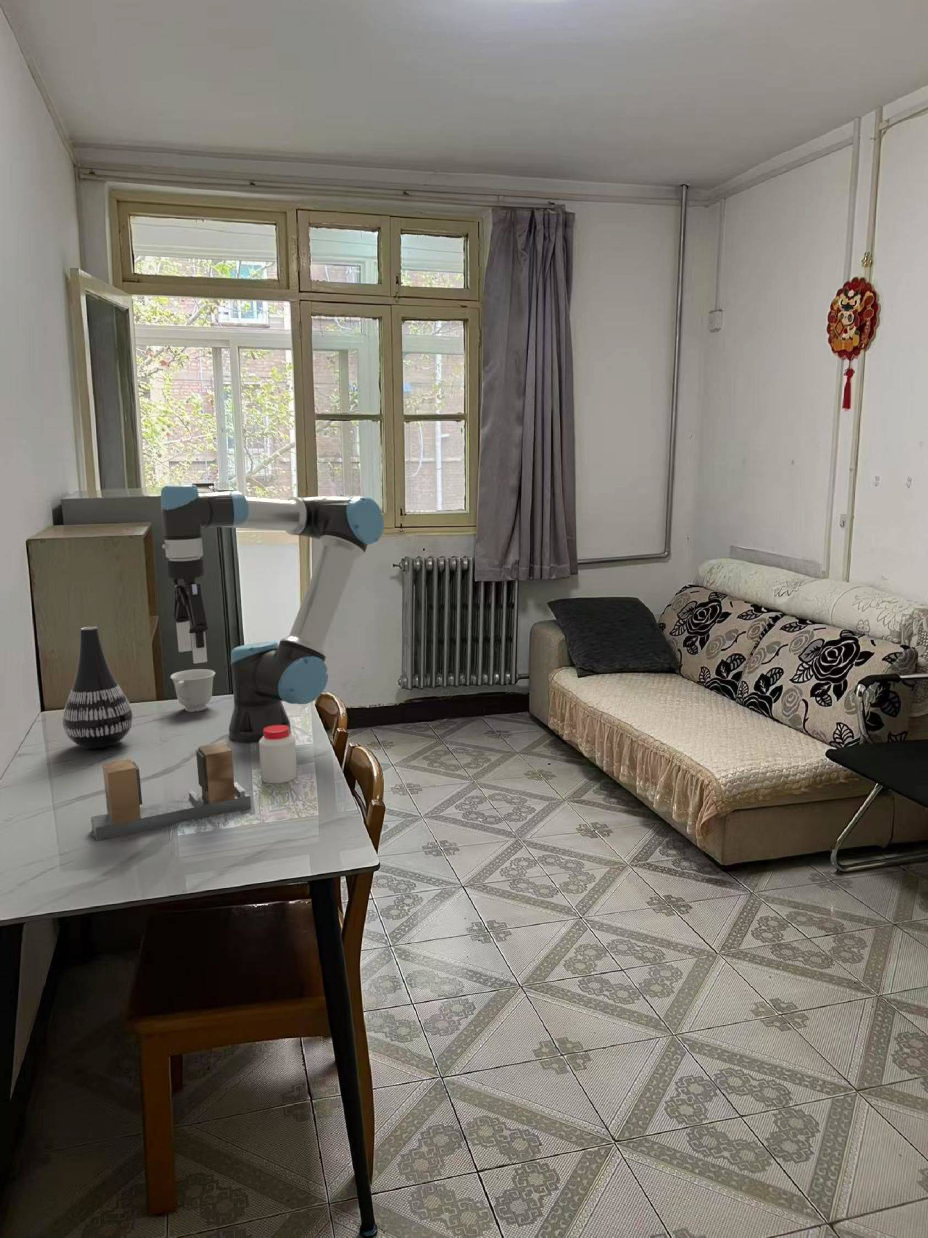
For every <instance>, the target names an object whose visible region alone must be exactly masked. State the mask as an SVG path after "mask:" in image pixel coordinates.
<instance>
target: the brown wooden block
mask: <svg viewBox="0 0 928 1238" xmlns="http://www.w3.org/2000/svg"><path fill="white" fill-rule="evenodd" d="M197 748H198V749H197V750H195V754H196V756H195V757H196V765H197V767H196V768H197V780H198V785H199V787H201V795H203V796H204V797H205V799H206V800H207V801H208V802H209V804H213V803H218V802H222V801H227V800H232V799H235V789H234V782H235V778H234V765H233V764H234V763H233V751H232V750H233V749H231V748H230V747H229V746H228V745H227V744H226V743H225V742H218V743H213V744H212V743H211V744H206V745H202V746H198V747H197Z"/></svg>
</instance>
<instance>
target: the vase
mask: <svg viewBox="0 0 928 1238" xmlns="http://www.w3.org/2000/svg"><path fill="white" fill-rule="evenodd" d="M79 636H80V637H79V652H78V653H79V654H78V663H77V668H76V672H75V677H74V680H73V684H72V686H71V690H70V692H69V695H68V698H67V701H66V703H65V706H64V708H63V714H62V728H63V730H64V733H65V734H66V735H67V737H68V739H70V741H72V743H74V744H76V745H77V746H80V747H81V748H82V747H83V748H86V749H87V750H89V751H101V750H107V749H110V748H113V747H114V746H115V745H116V744H117V743H119V742H120V741H122V740H123V739H124V738H125V737H126V736H127V735H128V734H129V732H130V730H131V727H132V725H133V721H134V719H133V718H134V715H133V710H132V705H131V704H130V702H129V700H128V698H127V696H126V694H125V693H124V692H123V690H122V688H121V687H120V685H119V683H118V682H117V681H116V680H117V679H116V678H115V676H114V675H113V673H112V670H111V669H110V667H109V664H108V661H107V658H106V656H105V652H104V649H103V645H102V642H101V637H100V634H99V628H98V626H85V627H81V628H80V629H79Z"/></svg>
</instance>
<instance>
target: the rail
mask: <svg viewBox="0 0 928 1238" xmlns="http://www.w3.org/2000/svg"><path fill="white" fill-rule="evenodd" d="M102 772H103V773H102V774H103V781H104V782H103V783H104V794H105V801H106V811H107V812H106V813H105V814H100V815H95V816H90V820H91V821H90V822H91V830H92V832H93V835H94V837H95V839H96V841H97V842H98V841H103V840H107V839H112V838H116V837H121V836H124V835H131V834H136V833H140V832H144V831H149V830H154V829H157V828H162V827H168V826H173V825H176V824H181V823H185V822H186V823H187V822H190V821H195V820H201V819H203V818H204V819H206V818H209V817H214V816H218V815H223V814H228V813H232V812H237V811H242V810H246V809H247V810H248V809H251V808H252V800H251V795H250V793H248V792H247V790H246V789H245V788H244V787H242V786H241V785H240V784H239V783H238V782H237V781H236V782H235V781H234V789H235V799H232V800H227V801H222V802H218V803H213V804H209V802H208V801H207V800H206V799H205V797H204V796H203V795H202V794H197V793H196V791H195V790H189V791H188V797H184V798H183V797H182V798H179V799H174V800H169V801H164V802H159V803H154V804H148V805H144V806H142V805H143V798H142V797H143V796H142V786H141V785H142V784H141V775H140V768H139V767H138V765H137V764H136V762H135V761H133V760H132V759H131V758H128V759H122V760H116V761H110V762H106V763H102Z"/></svg>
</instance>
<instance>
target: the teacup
mask: <svg viewBox="0 0 928 1238" xmlns="http://www.w3.org/2000/svg"><path fill="white" fill-rule="evenodd" d="M215 674H216V672H215V670H212V669H207V668H206V669H205V668H196V669H195V668H194V669H186V670H182V671H181V670H180V671H177V672H174V673H172V674H171V675H170V679H171V680H172V681H173V685H174V690H175V693H176V697H177V700H178V703H179V704H181V705H182V706H183V707H185V708H184V709H185V711H186V712H190V713H192V712H195V711H196V712H202V711H204V710H206V709H207V704H208V703H210V701H211V700H212V696H213V683H214V682H213V681H214V677H215ZM196 712H195V713H196Z"/></svg>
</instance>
